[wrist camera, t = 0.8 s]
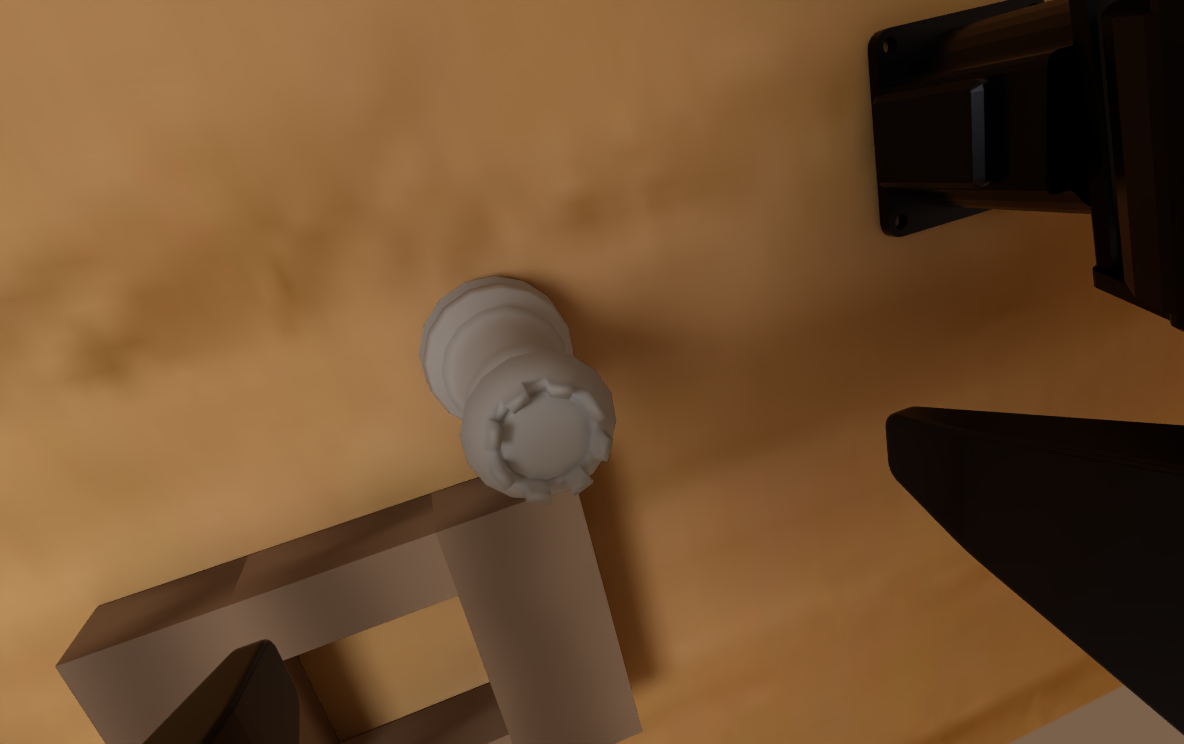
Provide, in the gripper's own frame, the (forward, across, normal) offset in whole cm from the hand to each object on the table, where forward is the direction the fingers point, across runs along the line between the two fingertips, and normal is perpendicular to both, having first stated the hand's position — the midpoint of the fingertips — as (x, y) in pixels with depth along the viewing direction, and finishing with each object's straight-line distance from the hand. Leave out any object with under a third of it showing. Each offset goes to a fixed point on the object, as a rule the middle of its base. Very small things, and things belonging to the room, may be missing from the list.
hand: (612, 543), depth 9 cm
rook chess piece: (+12, 0, 0) cm, 12 cm away
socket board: (+12, +6, +9) cm, 16 cm away
